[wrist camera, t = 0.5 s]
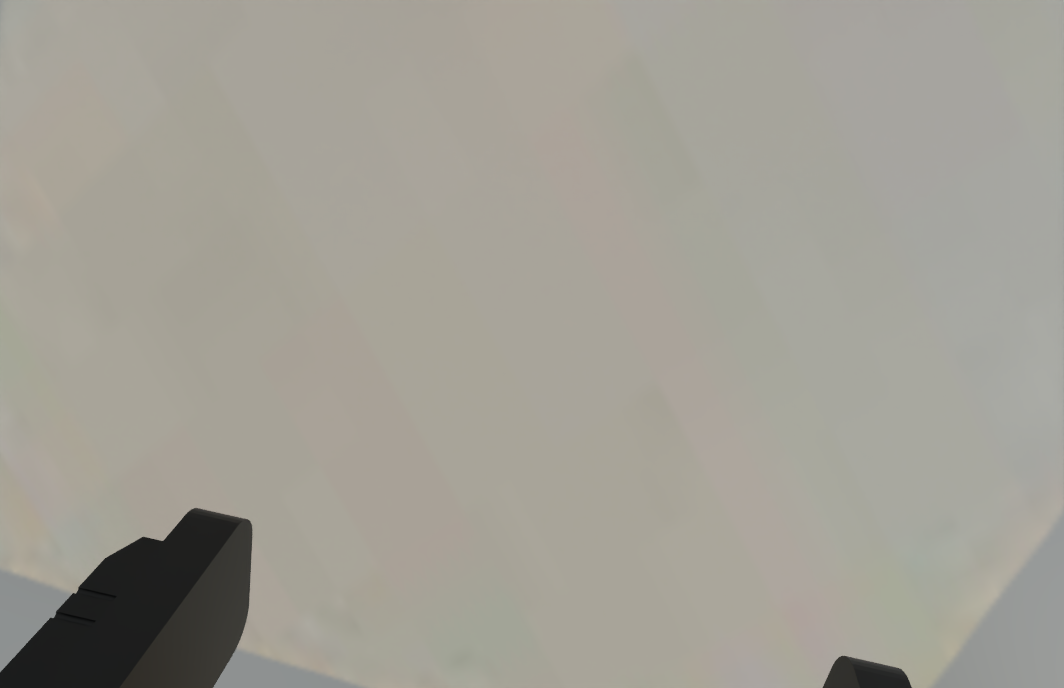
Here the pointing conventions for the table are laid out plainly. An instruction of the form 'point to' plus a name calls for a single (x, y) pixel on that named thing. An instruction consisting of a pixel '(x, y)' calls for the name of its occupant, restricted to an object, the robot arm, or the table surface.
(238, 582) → the robot arm
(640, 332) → the table surface
